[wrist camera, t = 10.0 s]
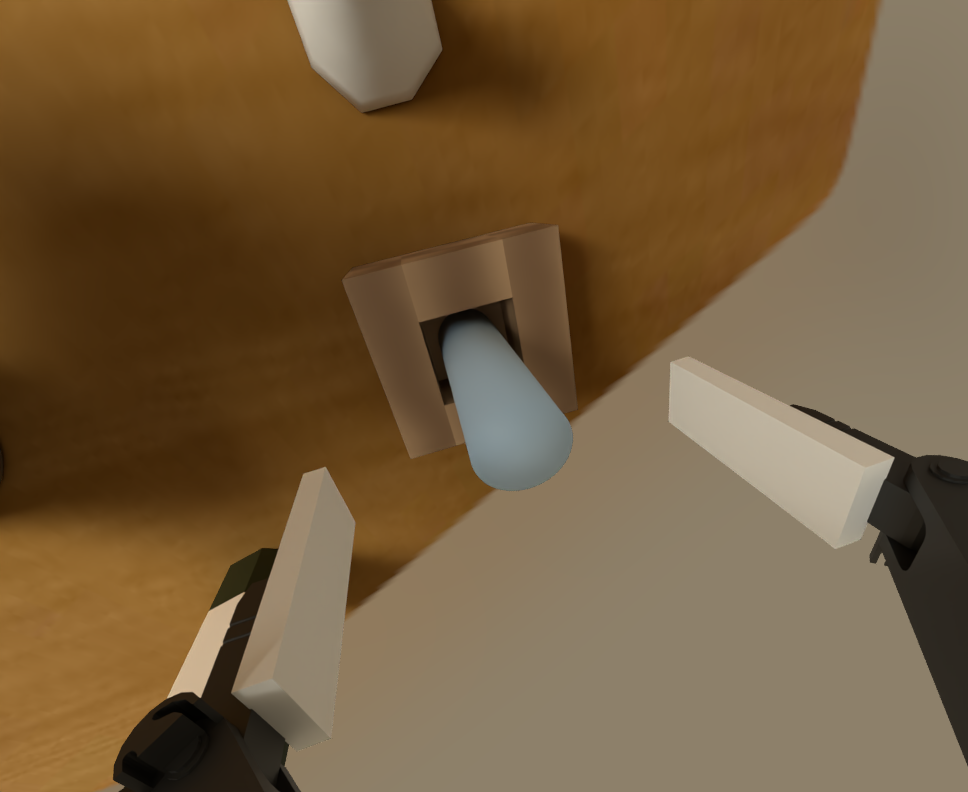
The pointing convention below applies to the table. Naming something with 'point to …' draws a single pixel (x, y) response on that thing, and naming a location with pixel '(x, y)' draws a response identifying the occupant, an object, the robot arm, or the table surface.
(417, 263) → the bore block
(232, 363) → the table surface
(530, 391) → the dowel
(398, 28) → the flask
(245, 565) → the wine bottle
